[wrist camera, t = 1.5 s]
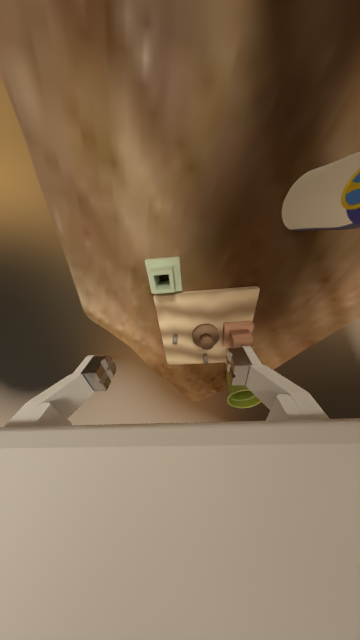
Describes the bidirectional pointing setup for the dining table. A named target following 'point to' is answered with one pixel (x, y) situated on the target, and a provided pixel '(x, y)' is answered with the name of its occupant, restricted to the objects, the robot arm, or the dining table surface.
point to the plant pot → (240, 395)
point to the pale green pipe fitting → (162, 268)
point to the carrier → (205, 323)
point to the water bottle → (325, 197)
